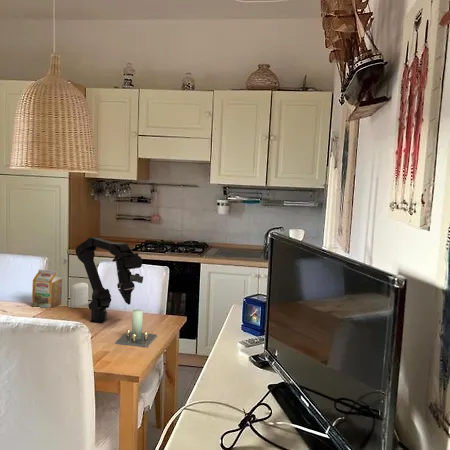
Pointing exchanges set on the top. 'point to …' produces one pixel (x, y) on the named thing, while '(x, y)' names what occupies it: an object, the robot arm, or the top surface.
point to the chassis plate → (131, 340)
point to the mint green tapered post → (137, 323)
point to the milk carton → (47, 289)
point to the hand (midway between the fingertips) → (128, 303)
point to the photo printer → (78, 295)
